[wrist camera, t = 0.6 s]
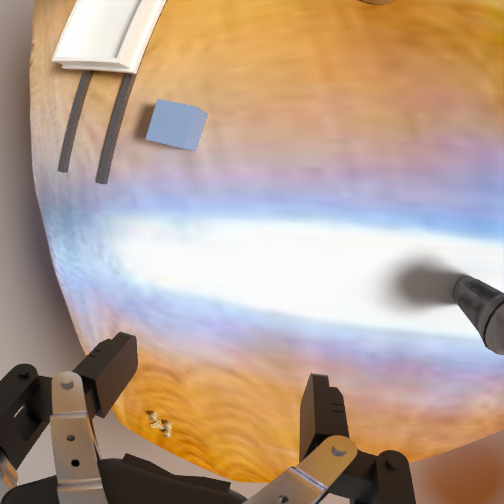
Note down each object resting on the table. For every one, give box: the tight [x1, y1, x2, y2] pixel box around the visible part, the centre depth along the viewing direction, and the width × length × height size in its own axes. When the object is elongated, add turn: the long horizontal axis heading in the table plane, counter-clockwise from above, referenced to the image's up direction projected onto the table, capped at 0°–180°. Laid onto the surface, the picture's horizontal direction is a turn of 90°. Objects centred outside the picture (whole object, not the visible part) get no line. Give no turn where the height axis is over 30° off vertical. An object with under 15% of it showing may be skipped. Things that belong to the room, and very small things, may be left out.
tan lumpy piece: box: [149, 411, 173, 438], centre depth 51 cm, size 5×5×2 cm
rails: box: [58, 0, 167, 184], centre depth 35 cm, size 30×9×1 cm, turn 163°
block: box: [145, 99, 207, 151], centre depth 34 cm, size 5×5×5 cm
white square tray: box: [52, 0, 166, 74], centre depth 30 cm, size 13×13×6 cm
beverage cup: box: [453, 276, 504, 355], centre depth 28 cm, size 7×7×20 cm
